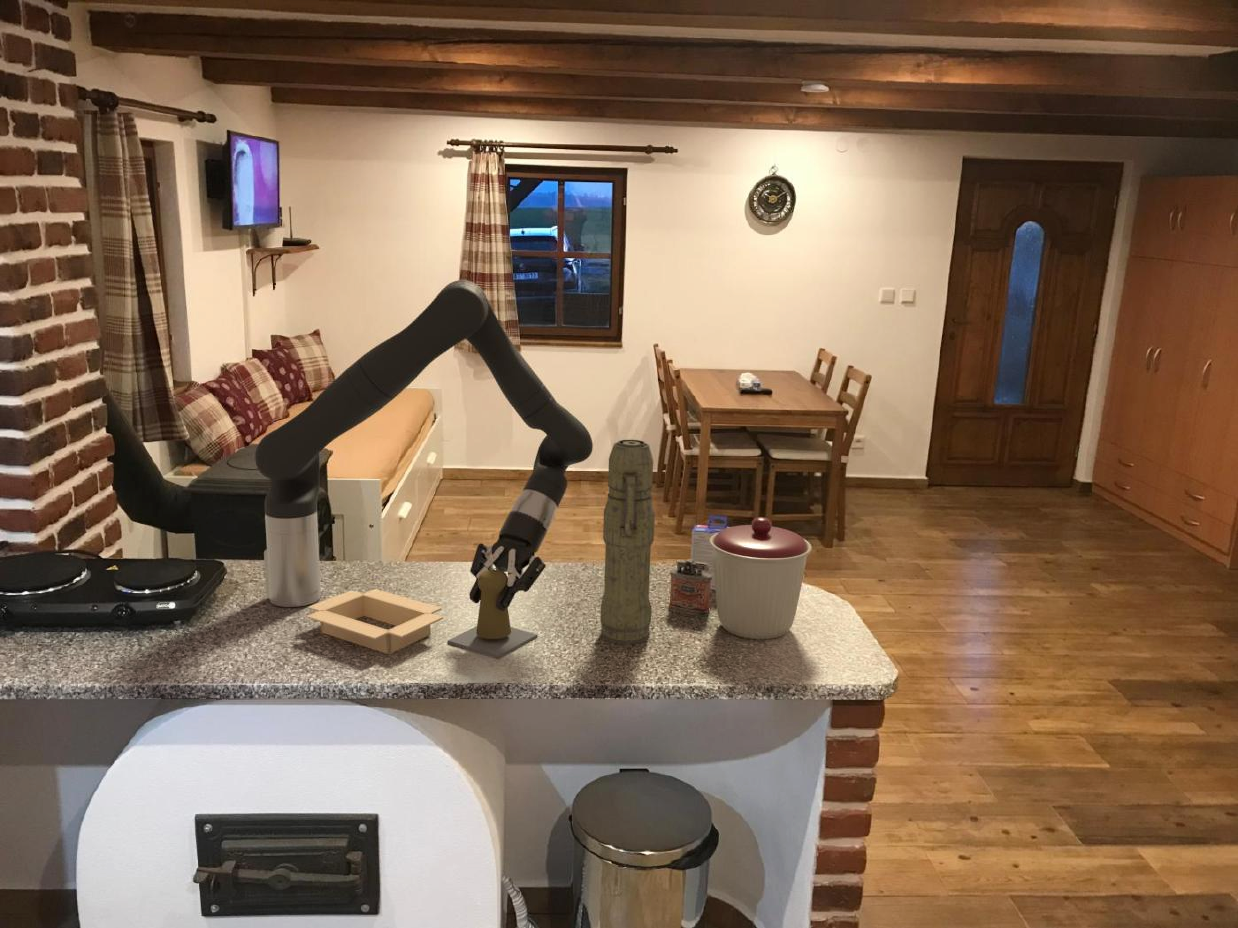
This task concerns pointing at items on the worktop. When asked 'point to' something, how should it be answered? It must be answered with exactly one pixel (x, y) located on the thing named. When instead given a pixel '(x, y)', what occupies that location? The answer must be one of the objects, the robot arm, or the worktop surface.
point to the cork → (492, 606)
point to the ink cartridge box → (706, 544)
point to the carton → (380, 606)
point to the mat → (492, 642)
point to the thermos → (628, 544)
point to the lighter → (690, 588)
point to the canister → (758, 578)
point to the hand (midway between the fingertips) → (486, 604)
